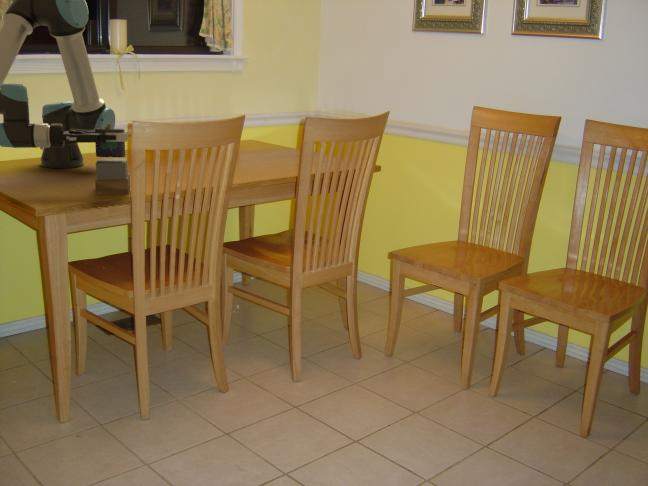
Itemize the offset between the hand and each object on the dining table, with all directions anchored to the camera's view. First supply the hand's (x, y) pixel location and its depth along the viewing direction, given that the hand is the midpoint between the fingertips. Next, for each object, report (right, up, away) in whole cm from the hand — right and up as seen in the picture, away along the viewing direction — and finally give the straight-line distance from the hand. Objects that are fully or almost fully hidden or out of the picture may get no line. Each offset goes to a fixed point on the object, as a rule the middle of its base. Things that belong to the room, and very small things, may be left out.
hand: (127, 136), depth 242 cm
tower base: (-6, -17, +4) cm, 19 cm away
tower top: (-5, -12, +2) cm, 14 cm away
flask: (-6, -7, +1) cm, 9 cm away
